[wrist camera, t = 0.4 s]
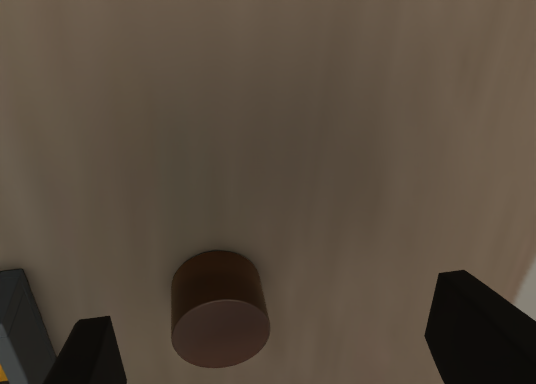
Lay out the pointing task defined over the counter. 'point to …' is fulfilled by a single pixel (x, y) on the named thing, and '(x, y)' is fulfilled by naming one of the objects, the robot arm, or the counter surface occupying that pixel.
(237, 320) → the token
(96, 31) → the counter surface
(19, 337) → the grid
